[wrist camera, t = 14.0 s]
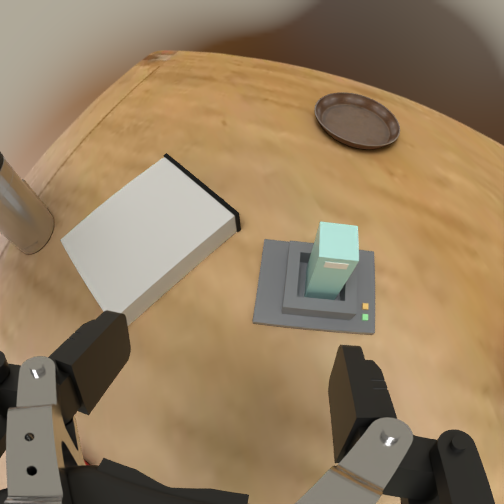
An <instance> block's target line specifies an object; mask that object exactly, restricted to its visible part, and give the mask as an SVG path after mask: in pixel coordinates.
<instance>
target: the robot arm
mask: <svg viewBox="0 0 504 504" xmlns="http://www.w3.org/2000/svg"><path fill="white" fill-rule="evenodd" d="M53 227H54V220H53V217H52V215H51V214H50V213H49V212H48V208H47V207H46V205H45V204H44V203H43V202H42V201H41V200H40V198H39V197H38V196H37V195H36V194H35V192H34V191H33V190H32V189H31V188H30V186H29V185H28V184H27V183H26V181H25V180H23V179H21V178H20V177H19V176H18V174H17V173H16V172H15V171H14V169H13V168H12V167H11V166H10V164H9V163H8V162H7V160H6V159H5V158H4V156H3V155H2V154H1V152H0V233H1V234H2V235H4V236H5V237H6V238H7V239H8V240H9V241H10V242H11V243H13V244H14V245H15V246H16V247H17V248H18V249H20V250H21V251H22V252H23V253H25V254H32V253H35V252H37V251H39V250H40V249H41V248H42V247H43V246H44V245H45V244H46V243H47V241H48V240H49V238H50V236H51V234H52V231H53ZM130 350H131V347H130V340H129V333H128V326H127V319H126V316H125V314H123V313H118V312H113V311H109V310H106V311H104V312H103V313H102V314H101V315H100V316H99V317H98V318H97V319H96V320H92V321H89V322H87V323H85V324H83V325H82V326H81V327H80V328H79V329H78V330H77V331H76V332H75V333H73V334H72V335H71V336H70V337H69V339H67V340H66V341H65V342H64V343H63V344H62V345H61V346H60V347H59V348H58V349H57V350H56V351H54V352H53V353H52V354H51V355H50V356H49V357H48V358H47V357H43V356H38V357H33V358H30V359H28V360H26V361H25V362H24V363H23V364H22V365H21V366H20V365H14V364H8V363H7V360H6V358H5V355H4V353H3V352H1V351H0V457H1V456H2V455H3V453H4V452H5V450H6V468H7V486H8V488H6V489H2V490H0V504H248V497H249V495H247V494H240V493H233V492H227V491H221V490H215V489H191V488H170V487H167V486H165V485H163V484H161V483H159V482H157V481H155V480H153V479H151V478H150V477H148V476H146V475H144V474H143V473H141V472H139V471H138V470H136V469H133V468H130V467H127V466H124V465H122V464H119V463H116V462H113V461H111V460H108V459H105V458H103V460H102V462H101V463H100V465H99V466H96V465H85V462H84V459H83V455H82V451H81V446H80V440H79V435H78V429H77V423H76V419H75V416H74V415H75V414H76V412H77V411H79V412H82V413H84V414H87V415H89V414H90V413H91V411H92V410H93V408H94V407H95V406H96V404H97V403H98V401H99V400H100V399H101V397H102V396H103V394H104V393H105V392H106V390H107V389H108V387H109V386H110V385H111V383H112V382H113V380H114V379H115V378H116V376H117V375H118V373H119V372H120V371H121V369H122V368H123V367H124V365H125V364H126V362H127V361H128V359H129V356H130ZM328 394H329V404H330V413H331V424H332V435H333V446H334V459H335V463H339V464H338V465H337V466H333V467H331V468H330V469H329V470H328V471H327V472H326V473H325V474H324V475H323V476H322V477H321V478H320V480H319V481H318V482H317V483H316V484H315V485H314V486H313V487H312V488H311V489H310V490H309V491H308V492H307V493H306V494H305V495H303V496H302V497H301V498H300V499H299V500H298V501H297V502H296V503H295V504H376V502H377V501H378V500H379V498H380V497H381V495H382V494H384V495H390V496H395V497H400V498H401V504H495V502H494V499H493V495H492V492H491V489H490V485H489V482H488V479H487V476H486V473H485V470H484V467H483V464H482V462H481V459H480V456H479V453H478V451H477V448H476V445H475V443H474V441H473V439H472V438H471V437H470V436H469V435H468V434H466V433H465V432H463V431H460V430H448V431H445V432H444V433H442V434H441V435H440V437H439V438H438V440H435V439H429V438H423V437H418V436H415V435H413V434H412V431H411V429H410V428H409V426H408V425H407V424H405V423H404V422H402V421H401V420H398V419H397V417H396V413H395V410H394V407H393V404H392V401H391V398H390V395H389V392H388V390H387V385H386V382H385V381H384V377H383V374H382V371H381V369H380V368H379V367H378V366H377V364H376V363H375V362H374V361H373V360H365V358H364V355H363V352H362V348H361V347H360V346H349V345H340V346H339V348H338V351H337V355H336V358H335V362H334V365H333V369H332V372H331V376H330V380H329V388H328Z"/></svg>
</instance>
